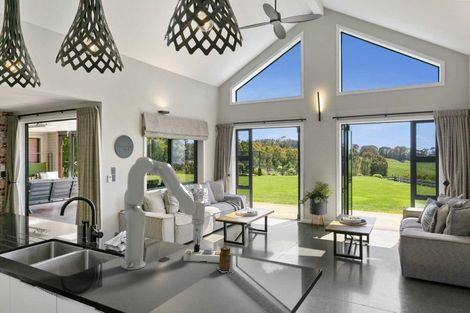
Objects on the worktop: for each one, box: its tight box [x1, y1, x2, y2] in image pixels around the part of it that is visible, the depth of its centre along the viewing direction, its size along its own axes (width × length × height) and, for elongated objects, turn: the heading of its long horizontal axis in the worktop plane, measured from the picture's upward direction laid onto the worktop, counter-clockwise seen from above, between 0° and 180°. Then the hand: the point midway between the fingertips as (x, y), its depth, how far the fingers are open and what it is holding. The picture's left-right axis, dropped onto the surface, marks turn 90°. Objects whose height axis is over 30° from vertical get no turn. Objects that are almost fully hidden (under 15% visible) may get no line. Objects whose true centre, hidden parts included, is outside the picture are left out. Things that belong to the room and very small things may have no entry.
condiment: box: [218, 246, 234, 274], centre depth 162 cm, size 7×8×12 cm
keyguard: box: [183, 248, 221, 263], centre depth 179 cm, size 10×25×4 cm, turn 90°
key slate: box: [203, 246, 213, 255], centre depth 179 cm, size 4×4×4 cm
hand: (196, 251), depth 179 cm, fingers closed
